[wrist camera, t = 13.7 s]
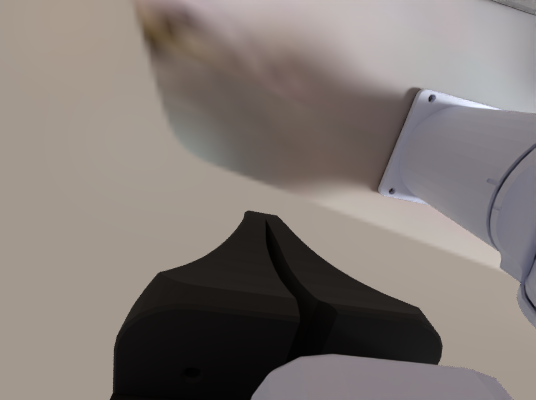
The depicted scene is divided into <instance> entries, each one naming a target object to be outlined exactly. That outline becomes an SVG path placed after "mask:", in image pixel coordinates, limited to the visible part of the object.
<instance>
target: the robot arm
mask: <svg viewBox="0 0 536 400" xmlns="http://www.w3.org/2000/svg"><path fill="white" fill-rule="evenodd" d="M430 95H432V100H431V101H430V102H429V101H428V98H429V96H430ZM391 188H393V191H392V192H390V193H389V190H390V189H391ZM378 191H379V193H380V194H381V195H383V196H388V197H393V198H398V199H403V200H407V201H412V202H417V203H422V204H427V205H430V206H432V207H433V208H435V209H436V210H438V211H439V212H441V213H442V214H444V215H445V216H447V217H448V218H450V219H451V220H453V221H454V222H456V223H457V224H459V225H460V226H462V227H463V228H465V229H466V230H468V231H469V232H471V233H472V234H474V235H475V236H477V237H478V238H480V239H481V240H483V241H484V242H485V243H487V244H488V245H490V246H491V247H493V248H494V249H496V250H497V251H499V252H500V254H501V263H500V268H501V269H502V270H504V271H505V272H507V273H508V274H509V275H511V276H512V277H513V278H515V279H516V280H518V281H519V282H520V283H521V284H520V286H519V288H518V291H517V301H518V304H519V307H520V309H521V311H522V312H523V314H524V315H525V316H526V318H527V319H528V321H529V322H530V323H531V324H532V325H533V326H534V327H535V328H536V114H534V113H525V112H515V111H507V110H503V109H499V108H496V107H492V106H488V105H485V104H481V103H477V102H474V101H470V100H466V99H462V98H459V97H455V96H451V95H448V94H444V93H440V92H437V91H433V90H429V89H422V90H420V91H419V92H418V93H417V94H416V97H415V99H414V102H413V104H412V106H411V109H410V111H409V114H408V116H407V119H406V121H405V124H404V126H403V129H402V131H401V133H400V136H399V138H398V141H397V143H396V146H395V148H394V151H393V153H392V156H391V158H390V161H389V163H388V165H387V168H386V170H385V173H384V175H383V178H382V180H381V183H380V185H379V188H378ZM441 354H442V342H441V338H440V336H439V334H438V333H437V332H436V330H435V329H434V327H433V326H432V325H431V323H430V322H429V321H428V320H427V318H426V317H425V315H424V314H423V313H422V311H421V310H420V309H419V308H418V307H415V306H413V305H410V304H408V303H405V302H403V301H401V300H398V299H395V298H393V297H391V296H388V295H386V294H383V293H381V292H379V291H377V290H375V289H373V288H371V287H369V286H367V285H365V284H363V283H361V282H359V281H357V280H355V279H354V278H352V277H350V276H348V275H347V274H345V273H343V272H342V271H340V270H338V269H337V268H335V267H334V266H332V265H331V264H330V263H328V262H327V261H325V260H324V259H323V258H321V257H320V256H319V255H317V254H316V253H315V252H314V251H313V250H311V249H310V248H309V247H308V246H307V245H306V244H305V243H303V242H302V241H301V240H300V239H299V238H298V237H297V236H296V235H295V234H294V233H293V232H292V231H291V230H290V229H289V227H288V226H287V225H286V224H285V223H284V222H283V221H282V220H281V219H280V218H279V217H278V216H276V215H271V214H264V213H259V212H254V211H247V212H245V214H244V218H243V220H242V222H241V223H240V225H239V226H238V228H237V229H236V230H235V231H234V233H233V234H232V235H231V236H230V237H229V238H228V239H227V240H226V241H225V242H224V243H222V244H221V245H220V246H219V247H218V248H216V249H215V250H213V251H212V252H210V253H209V254H207V255H206V256H204V257H202V258H200V259H198V260H196V261H193V262H192V263H189V264H186V265H183V266H180V267H177V268H173V269H170V270H167V271H163V272H160V273H158V274H157V275H156V276H155V277H154V279H153V280H152V281H151V282H150V283H149V285H148V286H147V287H146V289H145V290H144V291H143V293H142V294H141V295H140V297H139V298H138V299H137V301H136V302H135V304H134V305H133V307H132V308H131V310H130V312H129V314H128V316H127V317H126V319H125V321H124V323H123V325H122V327H121V329H120V331H119V333H118V335H117V338H116V342H115V346H114V370H113V371H114V372H113V394H112V396H111V398H110V400H513V398H512V397H511V396H510V395H509V394H508V393H507V391H506V390H505V389H504V388H503V387H502V385H501V384H500V383H499V382H498V381H497V380H496V378H494V377H491V376H488V375H485V374H483V373H480V372H477V371H475V370H471V369H468V368H462V367H453V366H442V365H438V363H439V361H440V358H441Z"/></svg>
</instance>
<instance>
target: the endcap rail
mask: <svg viewBox="0 0 536 400" xmlns="http://www.w3.org/2000/svg"><path fill="white" fill-rule="evenodd" d="M493 1H496V2H499V3H501V4H504V5H507V6H510V7H513V8H516V9H519V10H522V11H525V12H528V13H531V14H534V15H536V0H493Z"/></svg>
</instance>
